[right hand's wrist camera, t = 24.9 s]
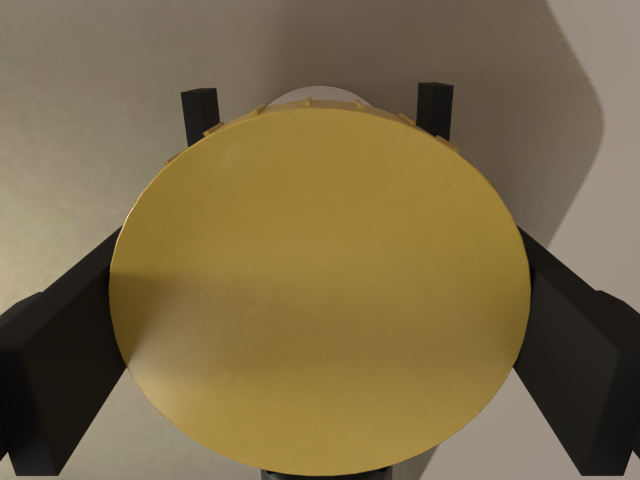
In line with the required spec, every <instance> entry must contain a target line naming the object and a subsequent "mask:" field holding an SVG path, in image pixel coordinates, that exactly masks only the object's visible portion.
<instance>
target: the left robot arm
mask: <svg viewBox="0 0 640 480" xmlns="http://www.w3.org/2000/svg"><path fill="white" fill-rule="evenodd" d="M453 88H454V86H453V85H447V84H442V83H436V82H434V83H419V85H418V103H417V121H416V126H418V127H420V128H421V129H423V130H425V131H426V132H428V133H429V134H431V135H433V136H434V137H436V136H437V135H439V136H440V137H442V138H443V139H445V140H447V141H448V142H449V135H450V124H451V112H452V100H453ZM181 98H182V105H183V113H184V120H185V128H186V135H187V142H188V148H189V147H190V146H192V145H193V144H195V143H197V142H198V141H200V140H201V139H203V138H204V137H205V135H204V134H203V133H204V132H206V131H207V130H209V129H211V128H212V127H214V126H215V125H217V124H219V123H220V118H219V109H218V100H217V90H216V88H200V89H195V90H190V91H186V92H181ZM392 467H393V465H390V466H386V467H383V468H380V469H376V470H371V471H365V472H360V473H355V474H345V475H335V476H305V475H294V474H285V473H279V472H274V471H269V470H264V469H261V476H262V480H392Z"/></svg>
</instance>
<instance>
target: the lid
mask: <svg viewBox="0 0 640 480" xmlns="http://www.w3.org/2000/svg"><path fill="white" fill-rule="evenodd" d="M415 123H416V122H415V121H413V120H412V119H410V118H408V117H407V116H405V115H404V114H402V113H400V112H399V113H398V115H394V114H392V113H390V112H387V111H385V110H382V109H378V108H375V107H371V106H367V105H364V104H362V103H361V102H360V101H359V100H358V99H354V102H346V101H339V100H312V96H307V98H306V100H300V101H293V102H286V103H279V104H276V105H272V106H269V107H266V105H265V104H262V105H260V106H258V107H257V108H256V109H254V110H253V111H252V112H250V113H247V114H245V115H243V116H241V117H238V118H236V119H234V120H232V121H230V122H228V123H226V124H225V125H224V123H223V122H220V123H219V124H217V125H215V126H214V127H212V128H211V129H209V130H207V131H206V132H204V133H203V134H204V135H205V137H204V138H203V139H201V140H200V141H198V142H197V143H195V144H193V145H192V146H190V147H189V148H186V149H184V150H183V151H181V152H180V153H178V154H177V155H175V156H174V157H172V158H171V159H169V160H168V161H166V162H165V163H164V165H165V167H164V168H163V169H162V170H161V171H160V172H159V173H158V174H157V175H156V177H155V178H154V179H153V180H152V181H151V182H150V183H149V185H148V186H147V187H146V188H145V189H144V190H143V192H142V193H141V195H140V196H139V197H138V198H137V199H136V201H135V202H136V203H135V204H134V206H133V207H132V209H131V210H130V212H129V214H128V215H127V218H126V220H125V222H124V225H123V227H122V229H121V232H120V234H119V236H118V238H117V242H116V246H115V250H114V254H113V257H112V261H111V267H110V278H109V288H108V291H109V308H110V313H111V318H112V323H113V328H114V333H115V338H116V342H117V345H118V347H119V350H120V353H121V356H122V358H123V360H124V362H125V364H126V366H127V368H128V370H129V372H130V374H131V375H132V377H133V379H134V381H135V382H136V383H137V385H138V386H139V388H140V389H141V390H142V392H143V393H144V395H145V396H146V398H147V399H148V400H149V401H150V402H151V403H152V404H153V405H154V406H155V407H156V409H157V410H158V411H159V412H160V413H161V414H162V415H163V416H164V417H165V418H166V419H168V420H169V421H170V422H171V423H172V424H173V425H175V426H176V427H177V428H178V429H179V430H180V431H182V432H183V433H185V434H186V435H188V436H189V437H191V438H192V439H194V440H195V441H197V442H198V443H200V444H201V445H203V446H205V447H207V448H209V449H211V450H213V451H215V452H216V453H218V454H220V455H223V456H225V457H228V458H230V459H233V460H235V461H238V462H240V463H243V464H247V465H250V466H253V467H257V468H260V469H264V470H269V471H274V472H279V473H285V474H294V475H305V476H335V475H345V474H355V473H360V472H365V471H371V470H376V469H380V468H383V467H386V466H390V465H393V464H396V463H400V462H402V461H405V460H407V459H409V458H412V457H414V456H417V455H419V454H421V453H423V452H425V451H427V450H429V449H431V448H433V447H434V446H436V445H438V444H440V443H442V442H443V441H445V440H446V439H447V438H449V437H450V436H452V435H453V434H455V433H456V432H458V431H459V430H461V429H462V428H463V427H464V426H465V425H466V424H467V423H469V422H470V421H471V420H472V419H473V418H474V417H475V416H477V415H478V414H479V413H480V412H481V410H482V409H483V408H484V407H485V406H486V405H487V404H488V403H489V402H490V400H491V399H492V398H493V397H494V396H495V394H496V393H497V391H498V390H499V389H500V387H501V386H502V384H503V383H504V381H505V380H506V379H507V377H508V375H509V373H510V371H511V369H512V367H513V365H514V363H515V361H516V359H517V358H518V355H519V352H520V349H521V346H522V343H523V340H524V336H525V331H526V326H527V321H528V316H529V311H530V302H531V281H530V271H529V262H528V259H527V255H526V251H525V247H524V244H523V240H522V237H521V234H520V232H519V230H518V228H517V225H516V223H515V221H514V219H513V216H512V214H511V212H510V211H509V209H508V208H507V206H506V205H505V203H504V202H503V200H502V198H501V197H500V195H499V194H498V192H497V191H496V189H495V188H494V187H493V186H492V185H493V183H492V182H491V181H490V180H489V179H487V178H486V177H484V176H483V175H482V174H481V173H480V171H479V170H478V169H477V168H476V167H474V166H473V165H472V164H471V163H470V162H468V161H467V160H466V159H465V158H464V157H462V156H461V155H460V154H459V153H458V150H459V148H457V147H456V146H455V145H453V144H451V143H450V142H448V141H447V140H445V139H443V138H442V137H440V136H439V135H437V136H436V137H434V136H433V135H431V134H429V133H428V132H426V131H425V130H423V129H421V128H420V127H418V126H416V125H415Z"/></svg>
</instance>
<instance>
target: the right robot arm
mask: <svg viewBox="0 0 640 480" xmlns="http://www.w3.org/2000/svg"><path fill="white" fill-rule="evenodd" d="M122 227H123V226H121V227H120V228H119V229H118V230H116V231H115V232H114V233H113V234H112V235H110V236H109V237H108V238H107V239H106V240H104V241H103V242H102V243H101V244H100V245H98V246H97V247H96V248H95V249H94V250H92V251H91V252H90V253H89V254H88V255H86V256H85V257H84V258H83V259H82V260H80V261H79V262H78V263H77V264H76V265H74V266H73V267H72V268H71V269H70V270H68V271H67V272H66V273H65V274H64V275H62V276H61V277H60V278H59V279H58V280H56V281H55V282H54V283H53V284H52V285H50V286H49V287H48V288H47V289H46V290H44V291H43V292H38V293H36V294H34V295H32V296H30V297H28V298H26V299H23V300H21V301H19V302H17V303H16V304H14V305H13V306H12V307H11V308H9V309H8V310H7V311H5V312H4V313H3V314H2V315H0V461H1V460H2V458H3V457H4V456H5V455H6V453H7V452H8V454H9V457H10V459H11V462H12V465H13V468H14V471H15V474H16V476H58V475H59V474H60V472H61V470H62V469H63V467H64V466H65V464H66V462H67V461H68V459H69V458H70V456H71V455H72V453H73V451H74V450H75V448H76V447H77V445H78V443H79V442H80V440H81V439H82V437H83V436H84V434H85V432H86V431H87V429H88V428H89V426H90V424H91V423H92V421H93V420H94V418H95V417H96V415H97V413H98V412H99V410H100V409H101V407H102V405H103V404H104V402H105V401H106V399H107V398H108V396H109V394H110V393H111V391H112V390H113V388H114V386H115V385H116V383H117V382H118V380H119V379H120V377H121V375H122V374H123V372H124V371H125V369H126V367H127V366H126V364H125V362H124V360H123V358H122V356H121V353H120V350H119V347H118V345H117V342H116V338H115V333H114V328H113V323H112V318H111V313H110V308H109V291H108V288H109V278H110V267H111V261H112V257H113V254H114V250H115V246H116V242H117V238H118V236H119V234H120V232H121V229H122ZM517 228H518V230H519V232H520V234H521V237H522V240H523V244H524V247H525V251H526V255H527V259H528V262H529V271H530V281H531V302H530V311H529V316H528V321H527V326H526V331H525V336H524V340H523V343H522V346H521V349H520V352H519V355H518V358H517V359H516V361H515V363H514V365H513V368H514V369H515V371H516V373H517V374H518V376H519V377H520V379H521V381H522V382H523V384H524V385H525V387H526V388H527V390H528V392H529V393H530V395H531V396H532V398H533V400H534V401H535V403H536V404H537V406H538V407H539V409H540V411H541V412H542V414H543V415H544V417H545V419H546V420H547V422H548V423H549V425H550V426H551V428H552V430H553V431H554V433H555V434H556V436H557V438H558V439H559V441H560V442H561V444H562V446H563V447H564V449H565V450H566V452H567V453H568V455H569V457H570V458H571V460H572V461H573V463H574V465H575V466H576V468H577V469H578V471H579V472H580V474H581V475H582V476H623V475H624V473H625V470H626V467H627V464H628V461H629V458H630V456H631V453H632V450H633V451H634V452H635V454H636V455H637V456H638V457H639V459H640V314H639V313H638V312H637V311H636V310H634V309H633V308H632V307H630V306H629V305H628V304H627V303H625V302H624V301H622V300H620V299H618V298H616V297H614V296H612V295H610V294H608V293H606V292H604V291H595V290H594V289H593V288H592V287H590V286H589V285H588V284H587V283H586V282H584V281H583V280H582V279H581V278H580V277H578V276H577V275H576V274H575V273H574V272H572V271H571V270H570V269H569V268H568V267H566V266H565V265H564V264H563V263H562V262H560V261H559V260H558V259H557V258H556V257H554V256H553V255H552V254H551V253H550V252H548V251H547V250H546V249H545V248H544V247H542V246H541V245H540V244H539V243H538V242H536V241H535V240H534V239H533V238H532V237H530V236H529V235H528V234H527V233H526V232H524V231H523V230H522V229H521V228H520V227H518V226H517Z"/></svg>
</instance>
